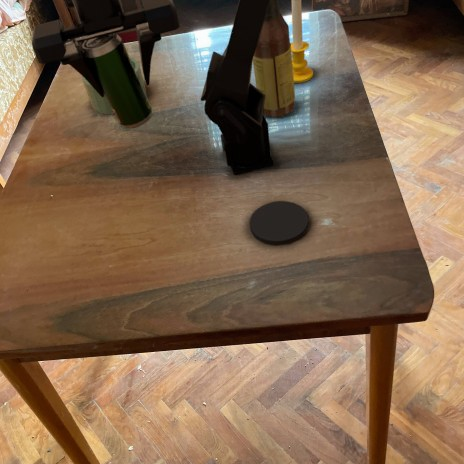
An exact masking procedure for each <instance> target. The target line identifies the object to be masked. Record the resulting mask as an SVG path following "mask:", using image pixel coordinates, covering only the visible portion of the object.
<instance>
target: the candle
mask: <svg viewBox="0 0 464 464" xmlns="http://www.w3.org/2000/svg"><path fill="white" fill-rule="evenodd" d="M302 10H303V9H302V0H291V27H292V28H291V30H292V42H290V44H291V53H292V64H293V76H294V84H301V83H302V84H303V83H306V82H308V81H310V80H311V79H312V78H313V77H314V70H313V69H312V68H311V67H309V66H308V60H307V59H305V56H306V55H305V51H306V50H308V49H309V48H310V44H309V42H307V41H303V40H304V39H303V13H302Z"/></svg>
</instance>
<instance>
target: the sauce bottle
mask: <svg viewBox="0 0 464 464" xmlns="http://www.w3.org/2000/svg"><path fill="white" fill-rule="evenodd" d="M279 2H280V1H279V0H270V4H269V7H268V10H267V14H266V17H265V20H264V24H263V27H262V30H261V34H260V37H259V40H258V44H257V47H256V50H255V53H254V57H253V62H252V68H253V73H254V80H255V87H256V88H257V89H258V90H260V91H261V92H262V93H263V94H265V104H264V112H263V115H264V116H266V117H267V118H281V117H284V116H286V115H289V114H290V113H292V112H293V110H294V109H295V106H296V101H295V99H296V91H295V83H294V76H293V64H292V60H293V59H292V52H291V44H290V43H291V40H290V27H289V24H288V23H287V22H286V19H285V18H284V16H283V15H282V13H281V7H280V3H279Z"/></svg>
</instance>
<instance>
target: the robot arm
mask: <svg viewBox="0 0 464 464" xmlns="http://www.w3.org/2000/svg"><path fill="white" fill-rule="evenodd" d="M140 1H141V4H142V8H138V9H135V10H131V11H127V12H125V11H124V4H123V1H122V0H64V3H65V5H66V7H67V9H74V10H75V12H76V14H77V18H78V21H79V23H80V24H76V25H72V26H67V27H64V24H63V22H62V21H61V19H55V20H51V21H47V22H44V23H40V24H35V25H34V27H33V29H32V35H31V46H32V50H33V52H34V55H35V57H36V59H37V61H38V64H41V65H46V64H49V63H53V62H57V61H59V62H60V64H61V65H62V66H67V65H69V66H70V67H71V68H73V69H74V70H75V71H76V72H77V73H79V75H81V77H82V76H83V77H84V78H85V79H86V80H87V81H88V82H89V83H90V85H91V86H92V87H93V88H94V89H95V90H96V91H97V92H98V94H99V95H100V96H101V97H104V92H103V90H102V88H101V86H100V84H99V82H98V80H97V78H96V76H95V74H94V72H93V70H92V68H91V66H90V65H89V63H88V61H87V59H86V57H85V54H84V49H83V47H82V45H83V42H85V41H86V40H90V39H94V38H98V37H102V36H105V35H109V34H113V33H117V34H118V33H121V32H125V31H128V30H129V31H130V30H133V29H135V32H136V37H137V42H138V49H139V55H140V62H141V69H142V75H143V79H144V83H145V86H147V87H148V86H150V84H151V83H150V80H151V78H150V77H151V66H152V65H151V64H152V59H153V52H154V48H155V44H156V42H160V41H161V40H162V39H163V38H162V34H165V33H171V32H173V31H177V30H178V29H179V28H180V21H179V17H178V12H177V9H176V5H175V4H174V1H173V0H140ZM269 4H270V0H238V4H237V8H236V12H235V16H234V20H233V24H232V27H231V32H230V36H229V39H228V43H227V45H226V47H225V48H224V51H223V53H222V54H220V53H218V52H216V51H212V54H211V58H210V62H209V66H208V69H207V72H206V78H205V82H204V84H203V85H204V86H203V89H202V92H201V96H200V101H201V102H204V106H203V107H204V114H205V115H206V116H207V118H208V120H209V121H211V123H213V124H214V125H216V126H217V128H218V129H219V131H220V133H221V134H220V141H221V148H222V153H223V158H224V161H225V163H226V166H227V167H230V170H231V172H232V175H234V176H240V175H242V174H246V173H251V172H255V171H259V170H262V169H266V168H270V167H273V166H275V160H274V158H273V156H272V154H271V143H270V130H269V123H268V121H267V120H266V119H267V118H266V117H265V115H264V114H263V112H264V104H265V94H263V93H262V92H261V91H260V90H258V89H257V87H256V85H253V83H251V79H252V71H253V57H254V53H255V50H256V47H257V44H258V40H259V37H260V34H261V30H262V27H263V24H264V20H265V17H266V14H267V10H268V7H269Z"/></svg>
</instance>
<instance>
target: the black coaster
mask: <svg viewBox="0 0 464 464" xmlns="http://www.w3.org/2000/svg"><path fill="white" fill-rule="evenodd" d="M309 219H310V218H309V215H308V212H307V211H306V209H304V207H302V206H301V205H299V204H297V203H295V202H292V201H287V200H285V201H284V200H277V201H271V202H268V203H265V204H262V205H261V206H259V207H257V209H255V211H253V213H252V214H251V216H250V218H249V230H250V232H251V235H252V236H253V237H254V238H255V239H256V240H258V242H261V243H263V244H266V245H270V246H283V245H288V244H291V243H294V242H296V241H297V240H299V239H301V238H302V237H303V236H304V235H305V234H306V232H307V231H308V228H309V223H310V221H309Z"/></svg>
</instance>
